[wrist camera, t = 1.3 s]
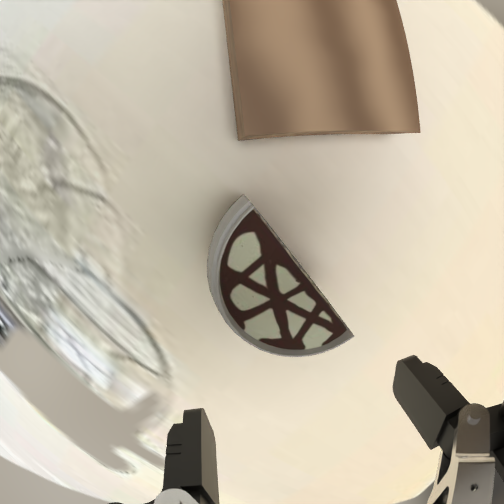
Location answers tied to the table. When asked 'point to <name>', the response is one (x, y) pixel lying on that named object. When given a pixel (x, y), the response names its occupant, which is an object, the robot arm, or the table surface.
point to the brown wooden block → (319, 68)
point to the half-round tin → (268, 289)
